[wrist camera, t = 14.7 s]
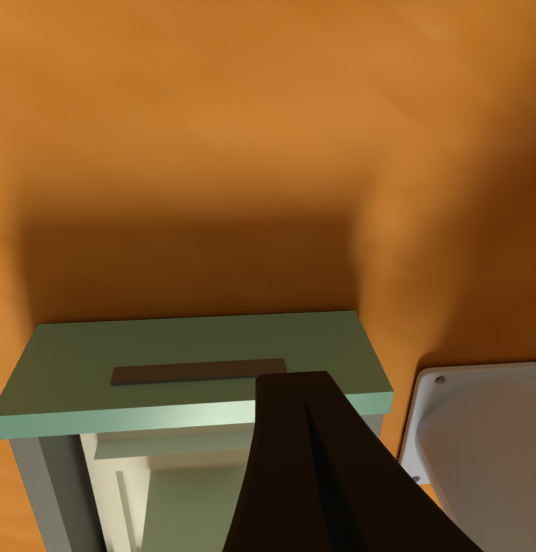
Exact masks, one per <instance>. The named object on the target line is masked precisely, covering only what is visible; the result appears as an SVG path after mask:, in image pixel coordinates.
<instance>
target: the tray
mask: <svg viewBox="0 0 536 552" xmlns="http://www.w3.org/2000/svg"><path fill="white" fill-rule="evenodd" d="M325 370H326V371H327V372H328V373H329V374H330V375H331V376H332V378H333V379H334V380H335V382H336V383H337V385H338V386H339V388H340V389H341V390H342V392H343V393H344V395H345V396H346V397H347V399H348V400H349V401H350V403H351V404H352V405H353V407H354V408H355V409H356V411H357V412H358V413H359V415H371V414H386V413H390V409H391V404H392V399H393V394H394V391H393V389H392V386H391V384H390V382H389V380H388V378H387V376H386V374H385V372H384V370H383V368H382V366H381V364H380V361H379V359H378V357H377V355H376V353H375V351H374V349H373V347H372V345H371V343H370V341H369V339H368V337H367V334H366V332H365V330H364V328H363V326H362V324H361V322H360V320H359V318H358V316H357V314H356V312H355V310H354V311H331V312H308V313H285V314H262V315H239V316H216V317H193V318H171V319H148V320H125V321H102V322H79V323H56V324H38V325H37V327H36V328H35V330H34V332H33V334H32V336H31V338H30V340H29V342H28V344H27V346H26V348H25V349H24V351H23V353H22V355H21V357H20V359H19V361H18V363H17V365H16V367H15V369H14V370H13V372H12V374H11V376H10V378H9V380H8V382H7V384H6V386H5V388H4V390H3V391H2V393H1V395H0V439H14V438H29V437H44V436H58V435H73V434H80V437H81V442H82V446H83V450H84V454H85V459H86V463H87V467H88V471H89V476H90V480H91V484H92V488H93V493H94V497H95V501H96V505H97V510H98V514H99V518H100V522H101V526H102V531H103V535H104V539H105V543H106V548H107V552H141V547H142V539H143V530H144V522H145V514H146V505H147V497H148V489H149V480H150V472H152V471H168V470H183V469H199V468H215V467H231V466H247V462H248V457H249V452H250V447H251V442H252V437H253V432H254V424H255V379H256V378H258V377H259V376H260V375H261V374H273V373H290V372H308V371H325Z"/></svg>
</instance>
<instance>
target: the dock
mask: <svg viewBox="0 0 536 552" xmlns="http://www.w3.org/2000/svg"><path fill="white" fill-rule="evenodd" d="M383 415H384V414H371V415H360V416H361V417H362V419H363V420H364V421H365V422H366V424H367V425H368V426H369V427H370V429H371V430H372V431H373V432H374V434H375V435H376V436H377V437H378V439H379V436H380V431H381V426H382V420H383ZM9 441H10V444H11V447H12V450H13V453H14V456H15V459H16V462H17V465H18V468H19V471H20V474H21V477H22V480H23V483H24V486H25V489H26V492H27V495H28V498H29V500H30V503H31V506H32V509H33V512H34V515H35V518H36V521H37V524H38V527H39V530H40V533H41V536H42V539H43V542H44V545H45V548H46V551H47V552H107V548H106V543H105V539H104V535H103V531H102V526H101V522H100V518H99V514H98V510H97V505H96V501H95V497H94V493H93V488H92V484H91V480H90V476H89V471H88V467H87V463H86V459H85V454H84V450H83V446H82V442H81V437H80V434H73V435H58V436H44V437H29V438H14V439H9Z"/></svg>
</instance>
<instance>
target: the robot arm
mask: <svg viewBox="0 0 536 552" xmlns="http://www.w3.org/2000/svg"><path fill="white" fill-rule="evenodd" d="M440 376H441V377H440ZM438 377H440V378H438ZM436 378H438V379H436ZM430 483H431V486H432V488H433V490H434V492H435V494H436V496H437V498H438V501H439V503H440V505H441V507H442V509H443V511H444V512H443V511H442V510H441V509H440V508H439V507H438V505H437V504H436V503H435V502H434V501H433V500H432V499H431V498H430V497H429V496H428V495H427V494H426V493H425V492H424V490H423V489H422V488H421V487H420V486H419V484H430ZM222 552H536V362H524V363H507V364H489V365H472V366H454V367H437V368H427V369H424V370H422V371H421V372H420V373H419V374H418V376H417V380H416V385H415V389H414V394H413V398H412V403H411V407H410V412H409V416H408V421H407V425H406V430H405V434H404V439H403V443H402V448H401V452H400V457H399V461H397V460H396V459H395V458H394V457H393V455H392V454H391V453H390V452H389V451H388V449H387V448H386V447H385V446H384V445H383V443H382V442H381V441H380V440H379V439H378V437H377V436H376V435H375V434H374V432H373V431H372V430H371V429H370V427H369V426H368V425H367V424H366V422H365V421H364V420H363V419H362V417H361V416H360V415H359V413H358V412H357V411H356V409H355V408H354V407H353V405H352V404H351V403H350V401H349V400H348V399H347V397H346V396H345V395H344V393H343V392H342V390H341V389H340V388H339V386H338V385H337V383H336V382H335V380H334V379H333V378H332V376H331V375H330V374H329V373H328V372H327V371H326V370H325V371H308V372H290V373H273V374H261V375H260V376H259V377H258V378H256V379H255V424H254V432H253V437H252V442H251V447H250V452H249V457H248V462H247V467H246V471H245V475H244V479H243V483H242V486H241V490H240V494H239V497H238V501H237V504H236V508H235V512H234V515H233V519H232V522H231V525H230V529H229V532H228V535H227V538H226V541H225V544H224V547H223V550H222Z"/></svg>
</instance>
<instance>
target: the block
mask: <svg viewBox="0 0 536 552" xmlns="http://www.w3.org/2000/svg"><path fill="white" fill-rule="evenodd" d="M246 467H247V466H231V467H215V468H199V469H183V470H168V471H152V472H150V480H149V489H148V497H147V505H146V514H145V522H144V530H143V539H142V547H141V552H222V550H223V547H224V544H225V541H226V538H227V535H228V532H229V529H230V525H231V522H232V519H233V515H234V512H235V508H236V504H237V501H238V497H239V494H240V490H241V486H242V483H243V479H244V475H245V471H246Z"/></svg>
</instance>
